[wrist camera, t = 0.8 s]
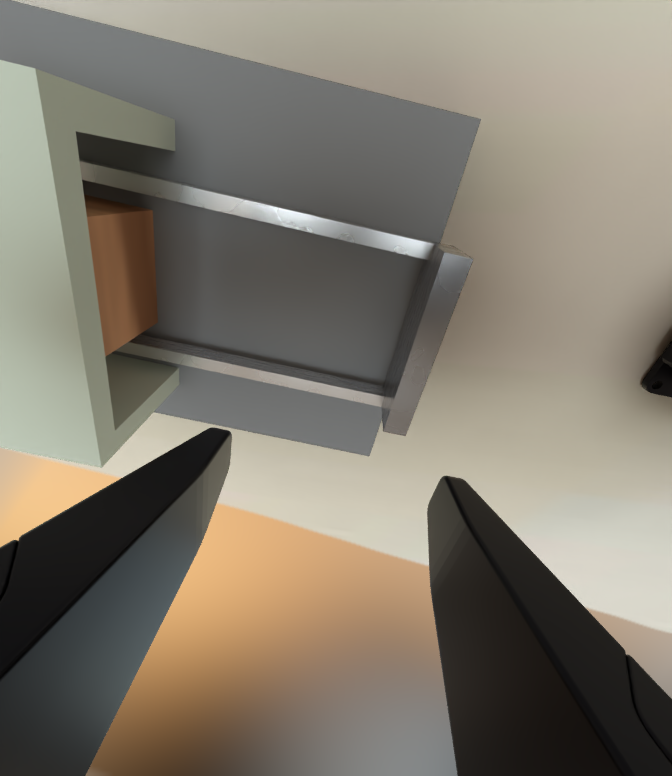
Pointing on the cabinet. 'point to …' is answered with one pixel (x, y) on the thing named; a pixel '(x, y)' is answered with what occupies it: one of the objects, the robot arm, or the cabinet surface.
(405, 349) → the silver flat rectangular frame
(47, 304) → the pale green tunnel
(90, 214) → the terracotta block
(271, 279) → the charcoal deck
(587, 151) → the cabinet surface
